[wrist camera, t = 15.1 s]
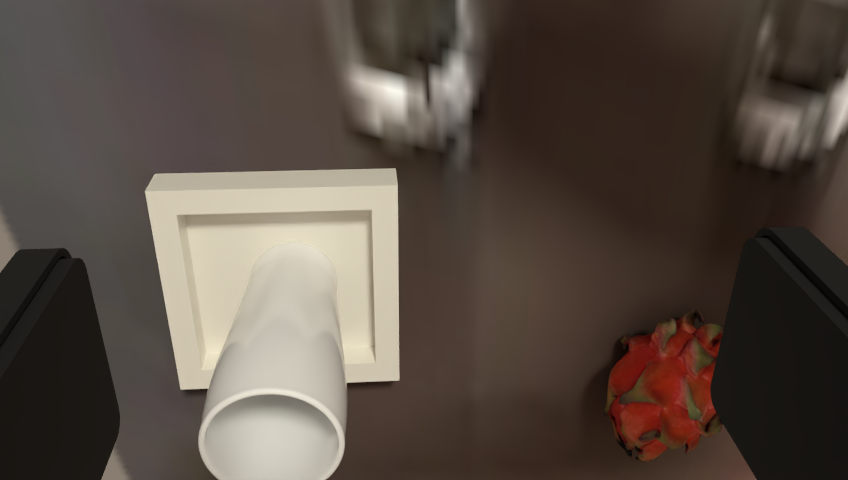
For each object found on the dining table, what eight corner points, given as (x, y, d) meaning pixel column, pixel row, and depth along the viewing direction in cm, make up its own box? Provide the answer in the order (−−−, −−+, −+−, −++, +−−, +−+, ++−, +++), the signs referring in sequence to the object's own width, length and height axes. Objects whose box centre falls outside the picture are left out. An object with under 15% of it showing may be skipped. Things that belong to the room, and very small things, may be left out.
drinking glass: (370, 261, 48) (375, 428, 35) (313, 336, 51) (298, 519, 38) (274, 207, 46) (242, 365, 33) (219, 289, 48) (168, 466, 35)
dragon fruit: (705, 271, 53) (611, 383, 60) (638, 288, 48) (543, 410, 54) (804, 364, 49) (692, 473, 56) (744, 395, 43) (626, 513, 50)
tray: (395, 168, 46) (397, 185, 44) (397, 358, 53) (399, 380, 51) (154, 173, 45) (144, 191, 43) (187, 366, 52) (180, 389, 50)
